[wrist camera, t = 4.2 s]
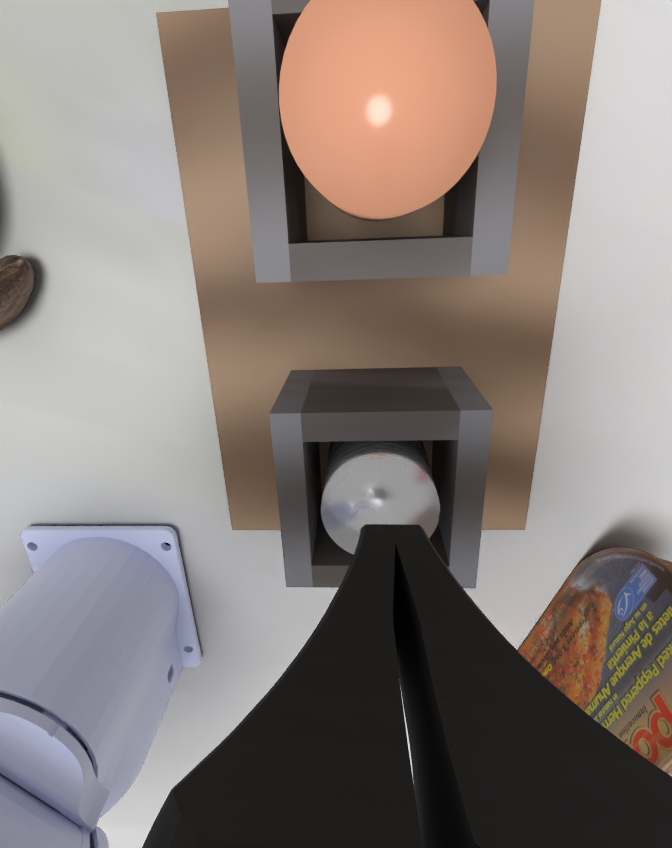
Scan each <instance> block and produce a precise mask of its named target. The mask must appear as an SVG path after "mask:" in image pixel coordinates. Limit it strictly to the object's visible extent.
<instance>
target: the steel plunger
mask: <svg viewBox="0 0 672 848" xmlns="http://www.w3.org/2000/svg"><path fill="white" fill-rule="evenodd" d="M321 516H322V521H323V524H324V527H325V529H326V531H327V533H328V534H329V536H330V537H331V538H332V539H333V541H334V542H335V543H336V544H337V545H339V546H340V547H341V548H343V549H344V550H345V551H347V552H349V553H351V554H353V555H354V553H355V550H356V547H357V544H358V541H359V537H360V530H361V528H362V527H363V526H364V525H365V524H404V525H420V526H421V527H422V528H423V529H424V531H425V533H426V534H427V536H428V538H430V537H431V535H432V534H433V532H434V531H435V529H436V527H437V524H438V521H439V516H440V502H439V497H438V494H437V490H436V487H435V484H434V480H433V477H432V473H431V470H430V467H429V463H428V460H427V456H426V453H425V449H424V446H423V443H422V440H411V441H332V442H330V447H329V454H328V461H327V468H326V475H325V482H324V489H323V496H322V502H321Z"/></svg>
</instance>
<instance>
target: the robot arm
mask: <svg viewBox="0 0 672 848" xmlns="http://www.w3.org/2000/svg"><path fill="white" fill-rule="evenodd" d="M21 540H22V542H23V545H24V548H25V551H26V554H27V556H28V559H29V562H30V565H31V567H32V570H33V573H34V574H33V575H32V576H31V577H30V578H29V579H28V580H27V581H26V582H25V583H24V584H23V585H22V587H21V588H20V589H19V590H18V591H17V592H16V593H15V594H14V595H13V596H12V597H11V598H10V599H9V600H8V601H7V602H6V603H5V604H4V605H3V606H2V607H1V608H0V848H109V845H108V840H107V837H106V834H105V833H104V832H103V831H102V830H101V829H100V828H99V827H97V826H96V824H97V822H98V820H99V818H100V817H102V816H103V815H104V814H105V813H106V812H108V811H109V810H110V809H111V808H112V807H113V806H114V805H115V804H116V803H117V802H118V801H119V800H120V799H121V798H122V797H123V795H124V794H125V793H126V792H127V790H128V789H129V788H130V786H131V785H132V784H133V782H134V780H135V779H136V777H137V775H138V774H139V772H140V770H141V768H142V765H143V763H144V760H145V758H146V756H147V753H148V751H149V748H150V746H151V743H152V741H153V738H154V736H155V734H156V731H157V729H158V726H159V724H160V721H161V719H162V716H163V714H164V712H165V709H166V707H167V704H168V702H169V699H170V697H171V694H172V692H173V690H174V687H175V685H176V682H177V680H178V677H179V675H180V672H181V670H182V668H195V667H198V666H199V665H200V662H201V660H202V656H201V651H200V646H199V641H198V636H197V631H196V626H195V622H194V617H193V612H192V607H191V602H190V597H189V592H188V587H187V582H186V577H185V572H184V568H183V563H182V558H181V553H180V548H179V543H178V538H177V534H176V531H175V530H174V529H173V528H171V527H169V526H29V527H27V528H26V529H24V530H23V531H22V532H21ZM164 542H166V543H169V544H170V545H171V546H167V545H166V544H165V543H164ZM34 543H35V544H36V545H35V544H34ZM399 679H400V680H399ZM400 685H401V689H400ZM401 692H402V697H401ZM402 698H403V704H404V710H405V717H406V723H407V729H408V735H409V742H410V750H411V759H412V768H413V779H412V772H411V765H410V758H409V751H408V744H407V736H406V728H405V721H404V713H403V705H402ZM413 781H414V785H413ZM142 848H672V776H670V775H669V774H667V773H666V772H664V771H663V770H662V769H660V768H659V767H657V766H656V765H654V764H653V763H651V762H650V761H648V760H647V759H646V758H644V757H643V756H641V755H640V754H639V753H637V752H636V751H635V750H633V749H632V748H631V747H629V746H628V745H627V744H625V743H624V742H623V741H622V740H620V739H619V738H618V737H616V736H615V735H614V734H612V733H611V732H610V731H608V730H607V729H606V728H605V727H603V726H602V725H601V724H599V723H598V722H597V721H595V720H594V719H593V718H592V717H591V716H589V715H588V714H587V713H586V712H585V711H583V710H582V709H581V708H580V707H579V706H578V705H576V704H575V703H574V702H573V701H572V700H571V699H569V698H568V697H567V696H566V695H565V694H564V693H562V692H561V691H560V690H559V689H558V688H557V687H555V686H554V685H553V684H552V683H551V682H550V681H548V680H547V679H546V678H545V677H544V676H543V675H542V674H541V673H540V672H539V671H538V670H537V669H536V668H534V667H533V666H532V665H531V664H530V663H529V662H528V661H527V660H526V659H525V658H524V657H523V656H522V655H521V654H520V653H519V652H518V651H517V650H516V649H515V648H514V647H513V646H512V645H511V644H510V643H509V642H508V641H507V640H506V639H505V637H504V636H503V635H502V634H501V633H500V632H499V631H498V630H497V629H496V628H495V627H494V625H493V624H492V623H491V622H490V621H489V620H488V619H487V617H486V616H485V615H484V614H483V613H482V611H481V610H480V609H479V608H478V607H477V606H476V604H475V603H474V602H473V601H472V599H471V598H470V597H469V596H468V594H467V593H466V592H465V591H464V589H463V588H462V586H461V585H460V584H459V582H458V581H457V580H456V578H455V577H454V576H453V574H452V573H451V572H450V570H449V569H448V567H447V566H446V565H445V563H444V562H443V560H442V559H441V557H440V556H439V554H438V553H437V551H436V549H435V548H434V546H433V545H432V543H431V541H430V540H429V538H428V536H427V534H426V533H425V531H424V529H423V528H422V527H421V526H420V525H404V524H365V525H364V526H363V527H362V528H361V530H360V537H359V541H358V544H357V547H356V550H355V553H354V555H353V558H352V561H351V563H350V565H349V568H348V570H347V572H346V574H345V576H344V579H343V581H342V583H341V585H340V587H339V589H338V591H337V593H336V594H335V596H334V598H333V600H332V602H331V603H330V605H329V607H328V609H327V611H326V613H325V614H324V616H323V618H322V619H321V621H320V622H319V624H318V626H317V627H316V629H315V630H314V632H313V633H312V635H311V636H310V638H309V639H308V641H307V642H306V644H305V645H304V647H303V648H302V649H301V651H300V652H299V654H298V655H297V656H296V658H295V659H294V660H293V662H292V663H291V664H290V665H289V667H288V668H287V669H286V671H285V672H284V673H283V675H282V676H281V677H280V678H279V680H278V681H277V682H276V683H275V685H274V686H273V687H272V688H271V689H270V691H269V692H268V693H267V694H266V695H265V696H264V697H263V698H262V700H261V701H260V702H259V703H258V704H257V705H256V706H255V707H254V708H253V709H252V711H251V712H250V713H249V714H248V715H247V716H246V717H245V718H244V719H243V720H242V722H241V723H240V724H239V725H238V726H237V727H236V728H235V729H234V730H233V731H232V732H231V733H230V734H229V735H228V736H227V737H226V738H225V739H224V740H223V741H222V742H221V743H220V744H219V745H218V746H217V747H216V748H215V749H214V750H213V751H212V752H211V753H210V754H209V755H208V756H207V757H206V758H204V759H203V760H202V761H201V762H200V763H199V764H198V765H197V766H196V767H195V768H194V769H193V770H192V771H191V772H190V773H189V774H188V775H187V776H185V777H184V778H183V779H182V780H181V781H180V782H179V783H178V784H177V785H176V786H175V787H174V788H173V789H172V790H171V792H170V793H169V795H168V797H167V799H166V801H165V802H164V804H163V806H162V808H161V810H160V812H159V814H158V816H157V818H156V820H155V822H154V824H153V826H152V828H151V830H150V832H149V834H148V836H147V838H146V840H145V843H144V845H143V847H142Z"/></svg>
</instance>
